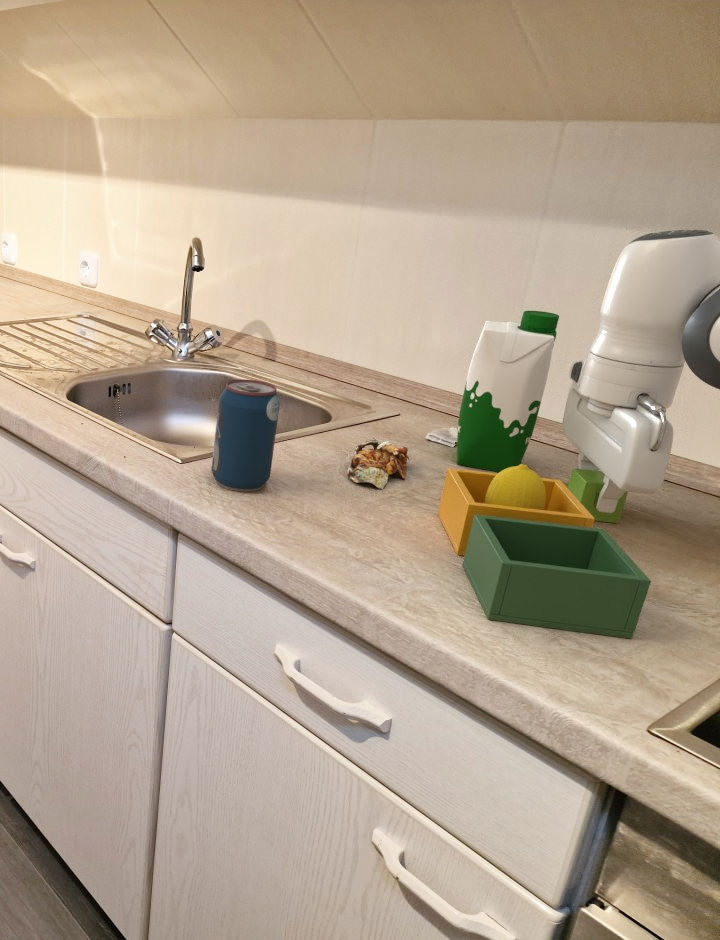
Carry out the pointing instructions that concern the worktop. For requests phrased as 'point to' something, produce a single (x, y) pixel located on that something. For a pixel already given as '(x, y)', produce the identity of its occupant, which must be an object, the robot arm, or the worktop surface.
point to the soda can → (245, 435)
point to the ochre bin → (468, 499)
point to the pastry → (377, 462)
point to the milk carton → (505, 391)
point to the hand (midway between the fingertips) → (593, 500)
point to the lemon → (517, 488)
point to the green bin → (554, 576)
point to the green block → (593, 493)
